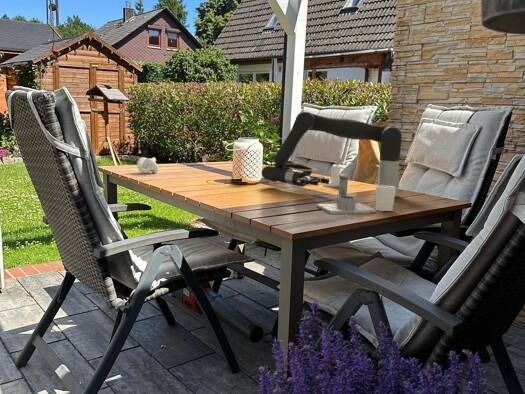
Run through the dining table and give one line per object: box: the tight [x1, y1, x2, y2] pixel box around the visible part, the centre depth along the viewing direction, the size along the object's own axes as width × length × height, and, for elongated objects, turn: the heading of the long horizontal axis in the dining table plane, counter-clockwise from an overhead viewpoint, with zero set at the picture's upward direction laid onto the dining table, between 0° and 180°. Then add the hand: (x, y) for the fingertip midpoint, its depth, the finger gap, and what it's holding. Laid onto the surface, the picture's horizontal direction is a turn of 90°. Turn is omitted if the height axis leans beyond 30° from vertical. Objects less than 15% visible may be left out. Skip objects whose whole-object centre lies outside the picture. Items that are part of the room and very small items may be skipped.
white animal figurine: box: [136, 157, 159, 175], centre depth 285 cm, size 11×12×9 cm
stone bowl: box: [284, 160, 318, 176], centre depth 290 cm, size 25×25×9 cm
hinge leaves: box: [316, 195, 377, 215], centre depth 202 cm, size 20×14×5 cm
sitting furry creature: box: [322, 164, 342, 188], centre depth 261 cm, size 10×9×12 cm
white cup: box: [375, 184, 396, 212], centre depth 203 cm, size 8×8×10 cm
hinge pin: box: [338, 173, 350, 196], centre depth 220 cm, size 5×5×12 cm
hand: (323, 182), depth 228 cm, fingers open, 8 cm apart
